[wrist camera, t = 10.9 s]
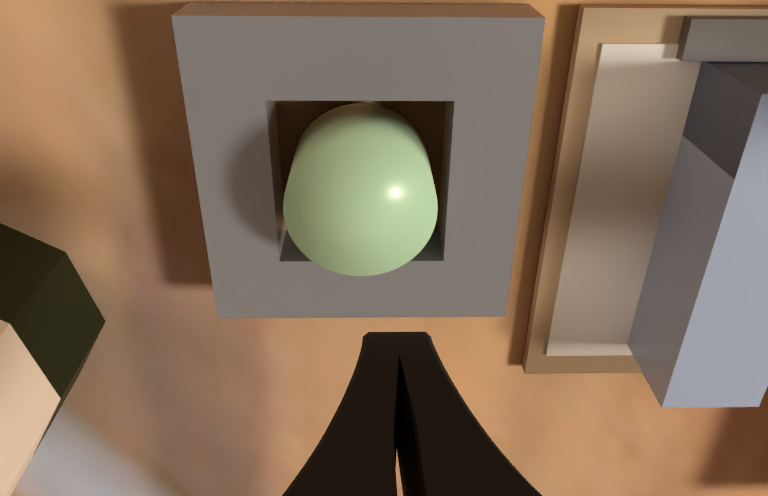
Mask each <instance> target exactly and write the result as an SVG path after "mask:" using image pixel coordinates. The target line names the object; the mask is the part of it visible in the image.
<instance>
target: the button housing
mask: <svg viewBox="0 0 768 496" xmlns="http://www.w3.org/2000/svg"><path fill="white" fill-rule="evenodd" d="M171 18H172V25H173V31H174V38H175V44H176V51H177V58H178V64H179V71H180V77H181V84H182V90H183V97H184V103H185V110H186V116H187V123H188V129H189V136H190V142H191V149H192V155H193V162H194V168H195V175H196V181H197V188H198V194H199V201H200V207H201V214H202V220H203V227H204V233H205V240H206V246H207V253H208V259H209V266H210V272H211V279H212V285H213V292H214V298H215V305H216V311H217V318H340V317H502V316H505V315H506V308H507V300H508V293H509V286H510V278H511V271H512V263H513V256H514V248H515V241H516V233H517V226H518V218H519V211H520V203H521V196H522V188H523V181H524V174H525V166H526V159H527V151H528V144H529V136H530V129H531V121H532V114H533V106H534V99H535V91H536V84H537V76H538V69H539V61H540V54H541V47H542V39H543V32H544V24H545V17H544V16H543V15H541V14H540V13H539V12H538V11H537V10H535V9H534V8H533V7H532V6H530V5H529V4H405V3H253V2H189V3H187V4H186V5H185V6H183V7H182V8H181V9H179V10H178V11H177V12H175V13H174V14H173V15H171ZM276 101H446V105H445V121H444V137H443V154H442V170H441V186H440V203H439V219H438V231H433V233H432V235H431V237H430V239H429V240H428V242H427V244H426V245H425V246H424V248H423V249H422V250H421V251H420V252H419V253H418V254H417V255H416V256H415V257H414V258H413V259H411V260H410V261H409V262H407V263H406V264H404V265H402V266H401V267H399V268H397V269H394V270H392V271H390V272H386V273H383V274H379V275H373V276H349V275H343V274H339V273H336V272H332V271H330V270H327V269H325V268H323V267H321V266H319V265H317V264H316V263H314V262H313V261H312V260H310V259H309V258H308V257H307V256H305V255H304V254H303V253H302V252H301V251H300V249H299V248H298V247H297V246H296V245H295V243H294V241H293V240H292V238H291V236H290V234H289V232H286V225H285V220H284V214H283V201H284V199H283V186H282V174H281V161H280V148H279V135H278V122H277V110H276Z"/></svg>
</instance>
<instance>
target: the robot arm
mask: <svg viewBox="0 0 768 496" xmlns="http://www.w3.org/2000/svg"><path fill="white" fill-rule="evenodd" d="M396 450H397V453H398V460H399V468H400V475H401V482H402V489H403V496H542V495H541V494H540V493H539V492H538V491H537V490H536V489H535V488H534V487H533V486H532V485H531V484H530V483H529V482H528V481H527V480H526V479H525V478H524V477H523V476H522V475H521V474H520V473H519V471H518V470H517V469H516V468H515V467H514V466H513V465H512V464H511V463H510V461H509V460H508V459H507V458H506V457H505V456H504V454H503V453H502V452H501V451H500V450H499V448H498V447H497V446H496V445H495V443H494V442H493V441H492V440H491V438H490V437H489V436H488V434H487V433H486V432H485V430H484V429H483V428H482V426H481V425H480V424H479V422H478V421H477V419H476V418H475V417H474V415H473V414H472V412H471V411H470V409H469V408H468V406H467V405H466V403H465V402H464V400H463V398H462V397H461V395H460V394H459V392H458V390H457V389H456V387H455V385H454V384H453V382H452V380H451V379H450V377H449V375H448V373H447V371H446V370H445V368H444V366H443V364H442V362H441V360H440V358H439V356H438V354H437V352H436V349H435V347H434V345H433V342H432V340H431V337H430V336H429V335H428V334H427V333H426V332H368V333H367V334H366V335H364V336H363V342H362V347H361V352H360V355H359V359H358V362H357V365H356V368H355V370H354V373H353V376H352V378H351V380H350V383H349V385H348V387H347V390H346V392H345V394H344V397H343V399H342V401H341V403H340V405H339V407H338V409H337V411H336V413H335V415H334V417H333V419H332V420H331V422H330V424H329V426H328V428H327V430H326V432H325V433H324V435H323V437H322V439H321V440H320V442H319V444H318V445H317V447H316V448H315V450H314V452H313V453H312V455H311V456H310V458H309V459H308V461H307V462H306V464H305V465H304V467H303V468H302V469H301V471H300V472H299V474H298V475H297V476H296V478H295V479H294V480H293V482H292V483H291V485H290V486H289V487H288V489H287V490H286V491H285V492H284V494H283V495H282V496H397V486H396V471H395V467H396Z"/></svg>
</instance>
